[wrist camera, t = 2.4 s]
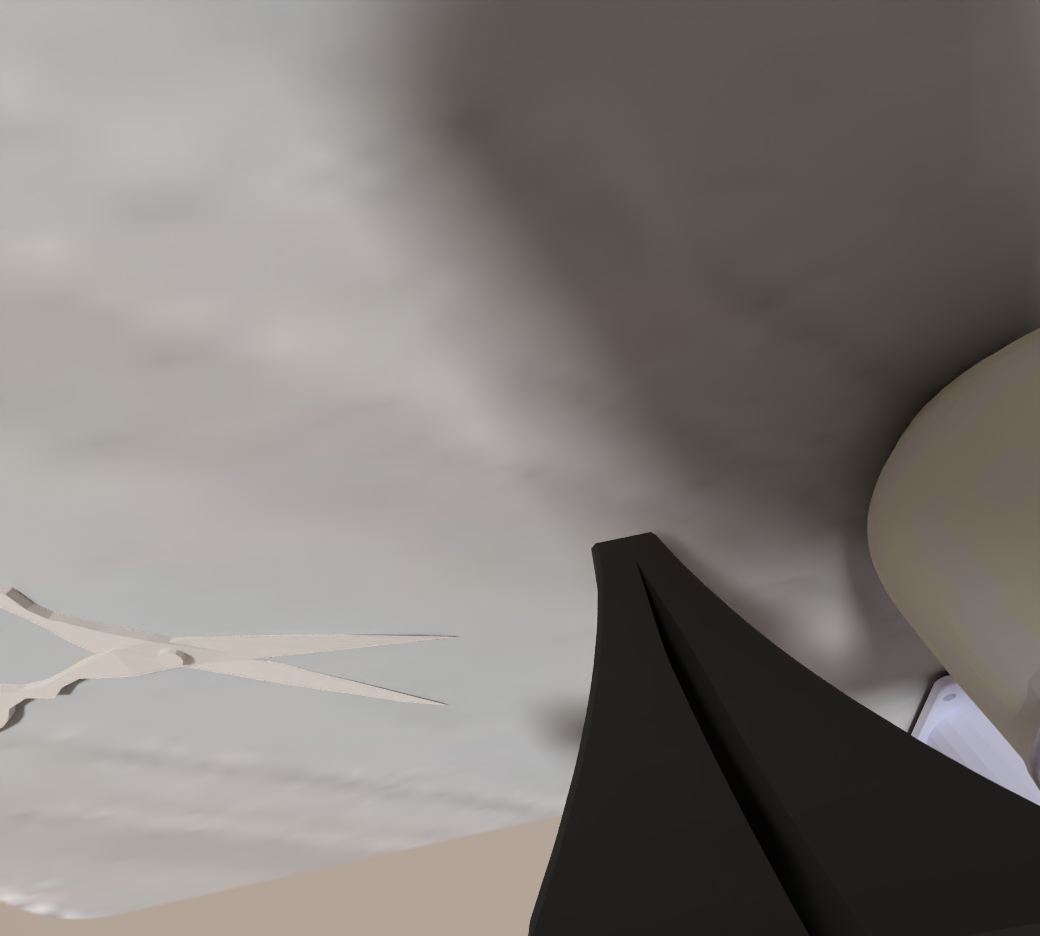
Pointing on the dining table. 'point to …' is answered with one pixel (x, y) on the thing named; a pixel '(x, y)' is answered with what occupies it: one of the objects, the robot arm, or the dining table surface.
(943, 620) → the teacup
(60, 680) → the scissors
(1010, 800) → the robot arm
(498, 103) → the dining table surface
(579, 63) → the dining table surface
